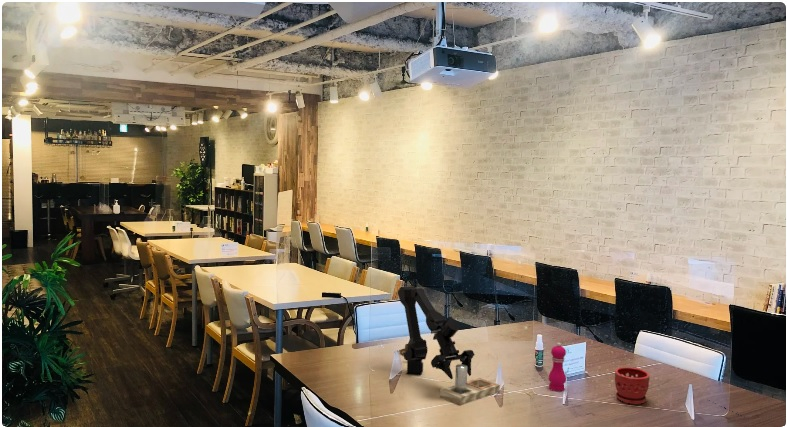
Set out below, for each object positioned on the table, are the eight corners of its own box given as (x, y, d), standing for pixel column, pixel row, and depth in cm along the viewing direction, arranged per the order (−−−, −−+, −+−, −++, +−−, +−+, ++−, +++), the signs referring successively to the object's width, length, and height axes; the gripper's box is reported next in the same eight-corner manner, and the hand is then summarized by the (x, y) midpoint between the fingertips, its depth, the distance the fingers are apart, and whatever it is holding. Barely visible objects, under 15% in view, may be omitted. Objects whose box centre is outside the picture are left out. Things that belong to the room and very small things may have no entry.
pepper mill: (566, 387, 270) (568, 341, 269) (564, 392, 264) (567, 345, 262) (548, 384, 273) (551, 339, 271) (547, 390, 266) (549, 343, 264)
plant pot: (609, 394, 263) (610, 366, 262) (641, 395, 263) (642, 367, 262) (619, 406, 250) (621, 376, 249) (653, 407, 250) (654, 377, 249)
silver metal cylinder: (454, 399, 253) (455, 367, 252) (455, 395, 257) (456, 363, 256) (465, 400, 252) (466, 368, 251) (466, 396, 256) (468, 365, 255)
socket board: (460, 405, 247) (460, 396, 246) (440, 396, 255) (440, 388, 255) (499, 391, 262) (499, 384, 262) (479, 384, 271) (479, 377, 270)
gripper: (455, 350, 273) (470, 383, 264) (419, 356, 263) (433, 390, 254) (467, 336, 266) (482, 370, 257) (430, 342, 256) (445, 376, 247)
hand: (461, 377), depth 254 cm, fingers open, 9 cm apart
